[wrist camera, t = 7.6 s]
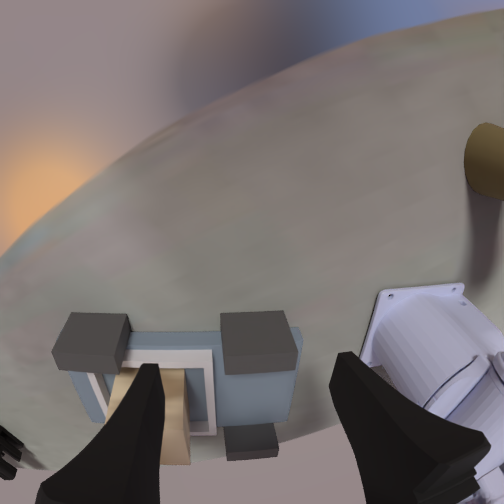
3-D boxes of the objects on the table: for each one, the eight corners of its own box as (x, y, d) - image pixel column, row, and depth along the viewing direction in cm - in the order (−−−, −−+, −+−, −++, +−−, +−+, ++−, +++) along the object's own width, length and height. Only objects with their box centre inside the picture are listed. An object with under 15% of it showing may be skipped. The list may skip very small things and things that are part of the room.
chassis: (300, 309, 23) (319, 349, 19) (282, 418, 28) (291, 454, 24) (56, 311, 20) (35, 349, 16) (99, 419, 26) (92, 455, 22)
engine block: (184, 368, 22) (183, 429, 17) (189, 409, 24) (190, 465, 19) (117, 366, 21) (104, 425, 16) (130, 407, 23) (123, 461, 18)
